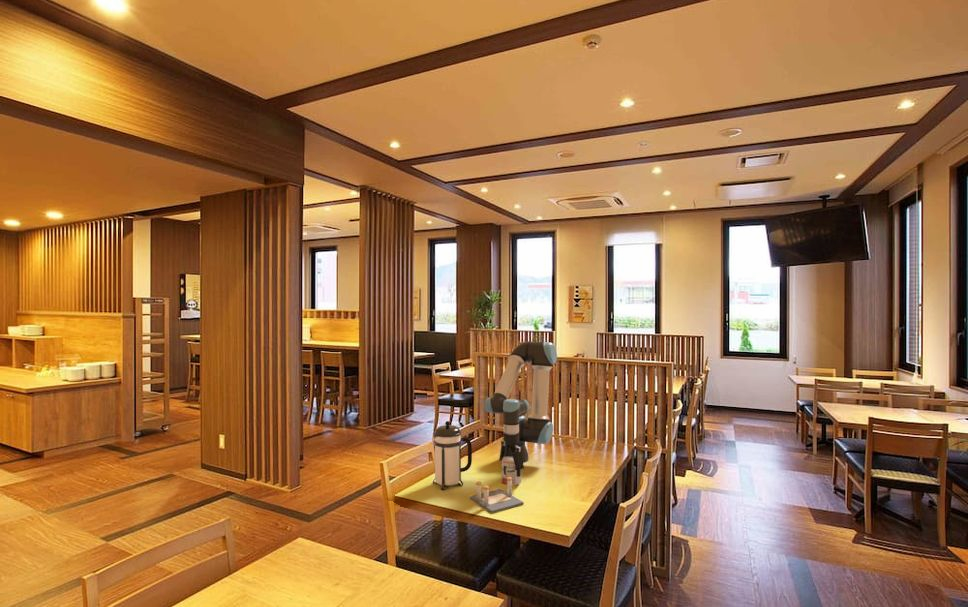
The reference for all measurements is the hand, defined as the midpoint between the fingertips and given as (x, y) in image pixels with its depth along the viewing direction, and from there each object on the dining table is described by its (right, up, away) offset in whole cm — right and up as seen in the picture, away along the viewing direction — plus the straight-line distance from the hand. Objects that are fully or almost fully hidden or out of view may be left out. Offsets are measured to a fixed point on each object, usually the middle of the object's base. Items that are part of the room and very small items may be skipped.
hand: (511, 479), depth 232 cm
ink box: (0, -2, 0) cm, 2 cm away
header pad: (-8, -2, -21) cm, 23 cm away
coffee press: (-29, -2, -1) cm, 29 cm away
